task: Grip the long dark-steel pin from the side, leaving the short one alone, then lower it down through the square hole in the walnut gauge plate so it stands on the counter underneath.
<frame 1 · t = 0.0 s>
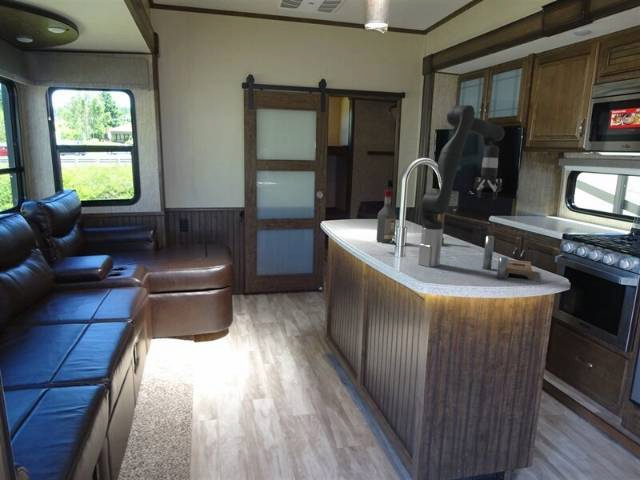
hand: (486, 198, 232), 29 cm above the worktop, tool pointing down, fingers open, 8 cm apart
long pin: (486, 268, 204), on the worktop
gauge plate: (517, 273, 197), on the worktop
liquor: (385, 242, 261), on the worktop
short pin: (501, 278, 188), on the worktop
wooden block: (434, 244, 260), on the worktop
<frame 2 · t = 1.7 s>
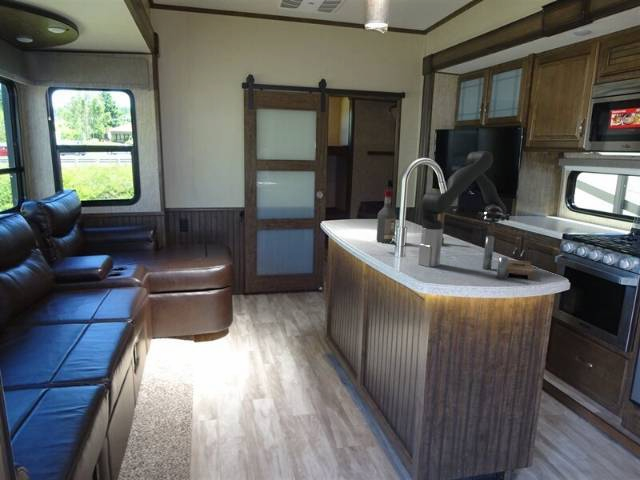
hand: (492, 218, 210), 22 cm above the worktop, tool horizontal, fingers open, 8 cm apart
nothing on the worktop moved.
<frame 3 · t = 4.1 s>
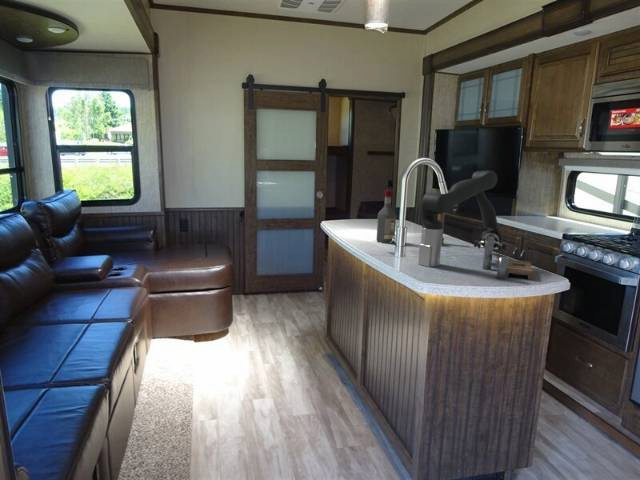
hand: (489, 247, 207), 9 cm above the worktop, tool horizontal, fingers open, 8 cm apart
nothing on the worktop moved.
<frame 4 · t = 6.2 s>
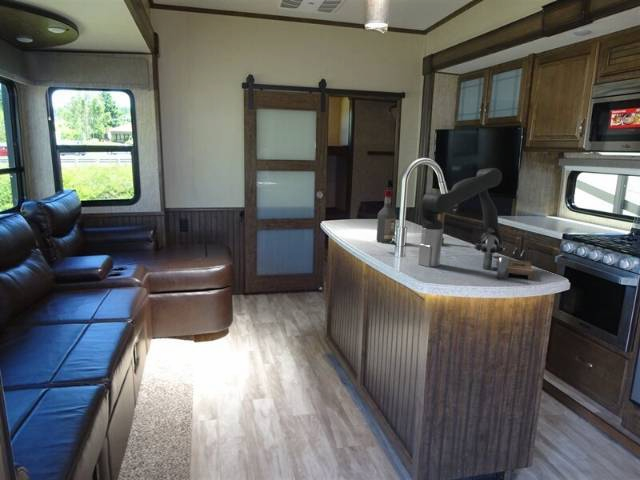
hand: (488, 250, 199), 9 cm above the worktop, tool horizontal, fingers closed on long pin, 3 cm apart
long pin: (486, 268, 204), on the worktop, touching gripper
everything else where it was.
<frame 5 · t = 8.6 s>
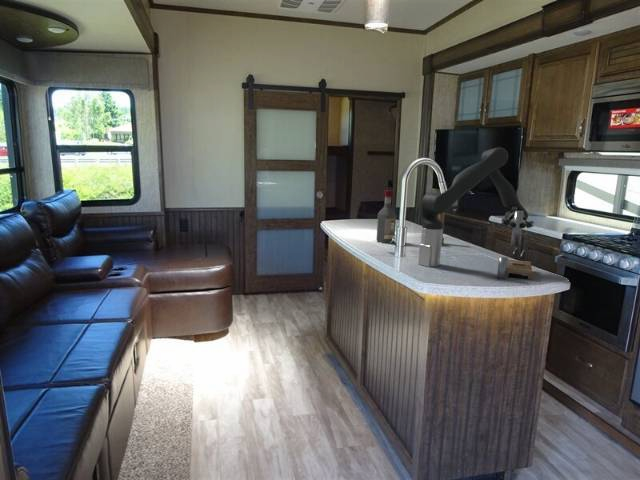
hand: (517, 225, 192), 21 cm above the worktop, tool horizontal, fingers closed on long pin, 3 cm apart
long pin: (515, 245, 196), point 12 cm above the worktop, touching gripper
everything else where it was.
when the fingers open (11 cm above the worktop, at t = 10.9 s): long pin drops 2 cm, on the worktop.
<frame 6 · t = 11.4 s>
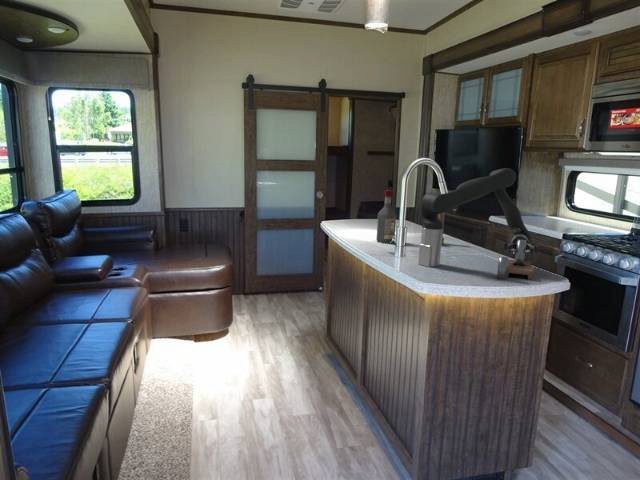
hand: (520, 250, 193), 11 cm above the worktop, tool horizontal, fingers open, 8 cm apart
long pin: (517, 273, 197), on the worktop
everything else where it was.
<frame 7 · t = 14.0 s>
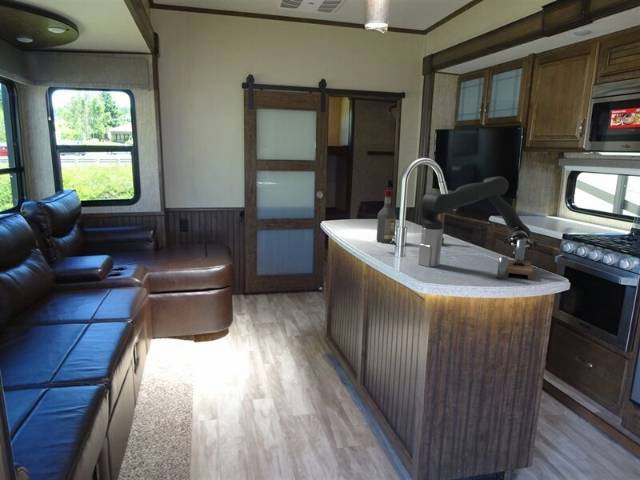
hand: (520, 244, 205), 11 cm above the worktop, tool horizontal, fingers open, 8 cm apart
nothing on the worktop moved.
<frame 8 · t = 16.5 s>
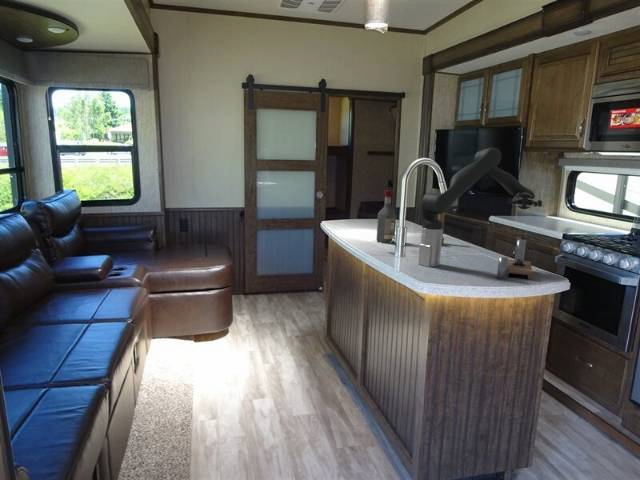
hand: (525, 203, 201), 30 cm above the worktop, tool horizontal, fingers open, 8 cm apart
nothing on the worktop moved.
at the end: long pin 0.1 cm off-centre on the gauge plate, point 0.0 cm above the gauge plate's base; long pin tilted 0°; short pin moved 0.0 cm from its start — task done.
